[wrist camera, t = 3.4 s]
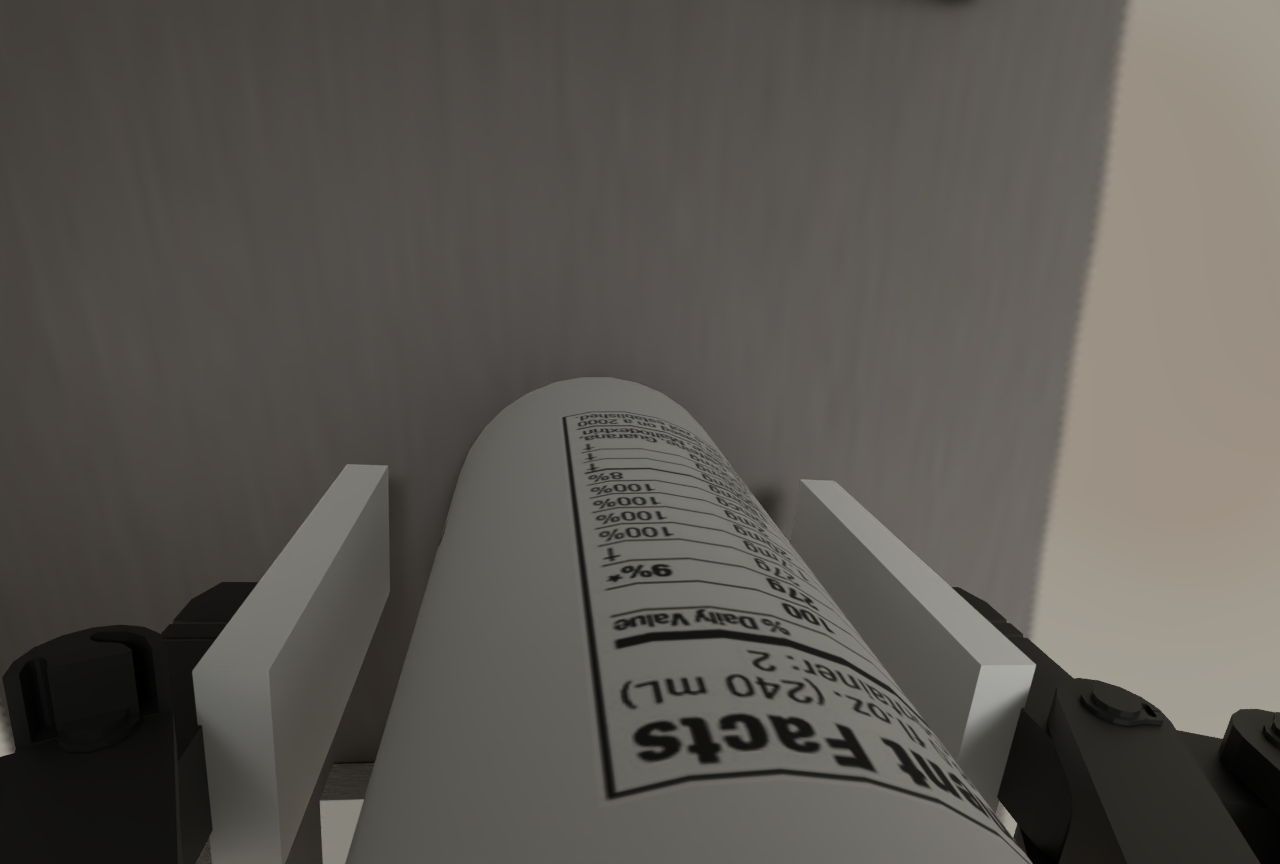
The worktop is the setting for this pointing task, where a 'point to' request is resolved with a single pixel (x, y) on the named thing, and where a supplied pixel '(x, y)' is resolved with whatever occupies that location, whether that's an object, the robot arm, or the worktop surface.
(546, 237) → the worktop surface
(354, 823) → the keeper
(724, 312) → the worktop surface
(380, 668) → the worktop surface
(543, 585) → the energy drink can
